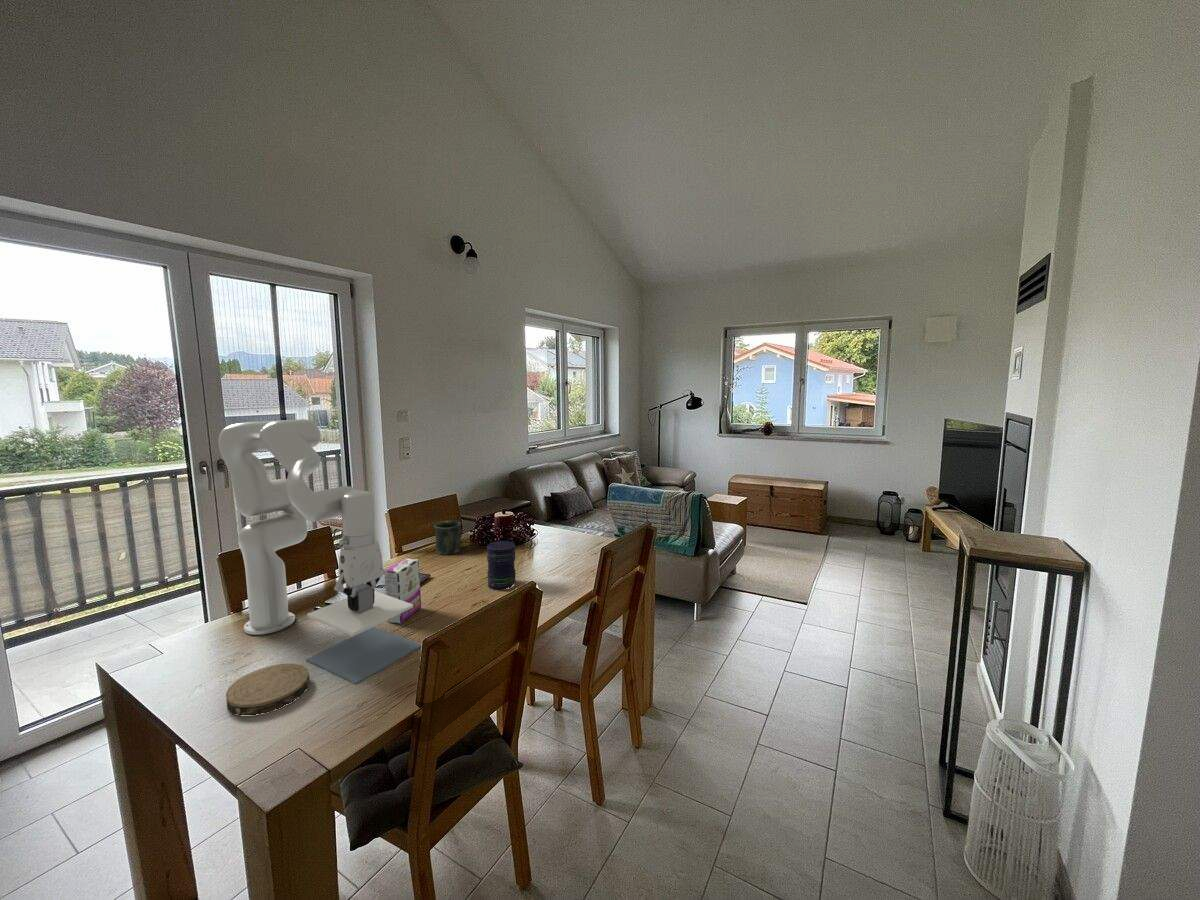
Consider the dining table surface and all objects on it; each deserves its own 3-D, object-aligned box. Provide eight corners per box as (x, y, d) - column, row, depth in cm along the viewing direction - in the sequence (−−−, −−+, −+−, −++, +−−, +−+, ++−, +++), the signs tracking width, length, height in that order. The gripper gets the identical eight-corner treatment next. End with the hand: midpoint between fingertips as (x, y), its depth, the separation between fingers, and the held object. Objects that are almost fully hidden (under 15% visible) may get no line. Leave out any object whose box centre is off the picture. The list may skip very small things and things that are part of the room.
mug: (429, 553, 207) (428, 526, 206) (451, 543, 221) (450, 517, 219) (450, 557, 204) (449, 529, 202) (471, 546, 217) (471, 520, 216)
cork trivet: (264, 672, 123) (263, 661, 122) (324, 677, 121) (323, 665, 121) (207, 714, 107) (206, 702, 106) (275, 720, 105) (274, 707, 105)
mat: (306, 661, 127) (305, 659, 127) (374, 628, 145) (374, 626, 144) (355, 684, 118) (355, 682, 118) (422, 646, 135) (422, 644, 135)
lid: (307, 616, 126) (306, 591, 125) (369, 591, 142) (368, 569, 141) (352, 636, 118) (351, 609, 117) (413, 607, 133) (412, 583, 132)
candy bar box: (407, 606, 159) (405, 557, 156) (421, 608, 158) (419, 558, 156) (386, 622, 148) (383, 570, 146) (401, 624, 147) (398, 572, 145)
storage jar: (518, 580, 181) (518, 541, 179) (511, 591, 171) (510, 550, 169) (492, 579, 182) (491, 540, 180) (483, 590, 172) (482, 548, 170)
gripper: (337, 551, 118) (340, 623, 121) (396, 533, 132) (397, 597, 135) (318, 545, 121) (322, 615, 124) (377, 528, 136) (379, 591, 139)
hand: (361, 605), depth 130 cm, fingers closed on lid, 4 cm apart
